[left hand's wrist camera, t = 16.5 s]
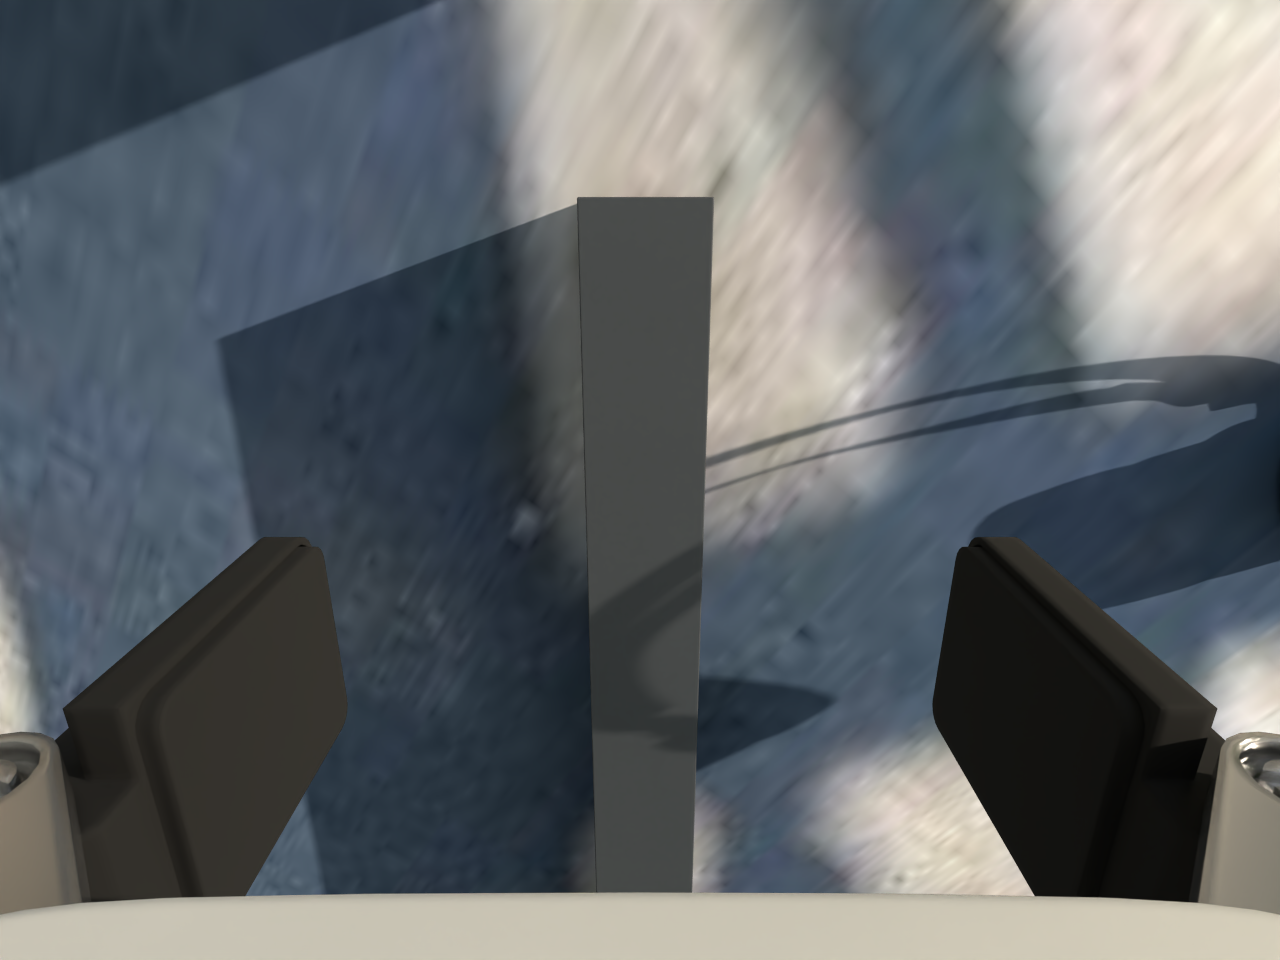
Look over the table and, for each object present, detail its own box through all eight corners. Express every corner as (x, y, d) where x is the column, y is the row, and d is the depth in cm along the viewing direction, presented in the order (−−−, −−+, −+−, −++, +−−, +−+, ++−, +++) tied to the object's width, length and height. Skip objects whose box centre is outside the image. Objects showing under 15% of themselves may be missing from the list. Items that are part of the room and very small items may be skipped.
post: (586, 199, 38) (577, 197, 32) (703, 199, 38) (714, 196, 32) (608, 1134, 63) (605, 1221, 58) (678, 1134, 63) (681, 1221, 58)
